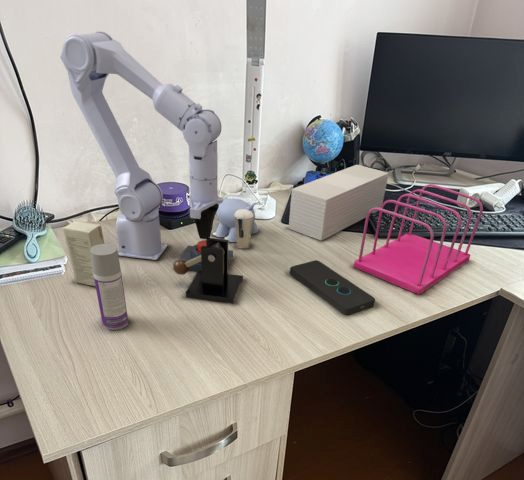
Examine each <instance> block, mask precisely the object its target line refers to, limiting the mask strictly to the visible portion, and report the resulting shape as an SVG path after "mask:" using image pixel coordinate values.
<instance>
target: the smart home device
mask: <svg viewBox="0 0 524 480" xmlns="http://www.w3.org/2000/svg"><path fill="white" fill-rule="evenodd" d="M289 274H290V276H291V277H293V278H294V279H295V280H297V281H298V282H300V283H301V284H302V285H304V286H305V287H306V288H307V289H309V290H310V291H312V292H313V293H315V294H316V295H317V296H318V297H320V298H321V299H322V300H324V301H325V302H327V303H328V304H329V305H331V306H332V307H333V308H335V309H336V310H337V311H339V312H340V313H341V314H343V315H345V316H350V315H352V314H356V313H359V312H361V311H364V310H367V309H370V308H373V307H375V302H376V298H375V297H374V296H372V294H369V293H368V292H367V291H365V290H363V289H362V288H360V287H359V286H357V285H356V284H354V283H353V282H351V281H350V280H349V279H347V278H345V277H344V276H342V275H341V274H339V273H338V272H336V271H335V270H333V269H332V268H330V266H327V265H326V264H324V263H323V262H321V261H320V260H317V259H315V260H311V261H308V262H304V263H303V262H302V263H299V264H296V265H291V266H290V268H289Z"/></svg>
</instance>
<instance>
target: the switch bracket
mask: <svg viewBox="0 0 524 480" xmlns="http://www.w3.org/2000/svg"><path fill="white" fill-rule="evenodd" d="M205 240H206V246H202V247H201V264H202V271H200V270H199V271H196V274H195V276H194V277H193V280H192V281H191V283H190V284H189V286H188V288H187V289H186V291H185V298H186V299H194V300H202V301H208V302H217V303H226V304H235V301H236V299H237V297H238V294H239V292H240V289H241V287H242V284H243V282H244V275H239V274H232V273H229V267H228V250H229V241H228V240H225V239H224V238H214V237H210V238H207V239H205ZM218 242H219V243H220V245H221V246H222V248H217V247H209V246H212V245H214V244H216V243H218ZM224 251H225V253H224Z"/></svg>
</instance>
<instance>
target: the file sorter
mask: <svg viewBox="0 0 524 480" xmlns="http://www.w3.org/2000/svg"><path fill="white" fill-rule="evenodd" d="M429 187H431V188H435V189H439V190H442V191H444V192H448V193H451V194H453V195H456V196H457V195H458V196H460V197H462V198H466V199H469V200H472V201H475V202H476V204H478V206H479V213H478V216H477V219H476V221H475V223H474V224H475V225H474V227H473V228H472V229H473V230H472V233H471V235H470V238H469V241H468V244H467V246H466V249H465V251H462V247H463V245H464V241H465V238H466V236H467V232H468V230H469V226H470V224H471V222H472V221H471V220H472V215H473V214H472V213H473V212H472V210H471V207H470V206H469V205H467V204H466V203H463V202H461V201H459V200H455V199H452V198H449V197H447V196H443V195H440V194H437V193H434V192H432V191H431V192H430V191H428V190H426V189H427V188H429ZM416 193H419V195H415V194H416ZM423 194H426V195H428V196H431V197H435V198H438V199H441V200H443V201H447V202H450V203H452V204H456V205H459V206H461V207H463V208H464V209H465V210H467V213H468V218H467V220H466V221H467V222H466V225H465V228H464V230H463V233H462V235H461V239H460V242H459V244H458V248H457V249H456V248H454V246H455V244H456V241H457V238H458V235H459V233H460V229H461V226H462V217H461V215H460V213H459V212H457V210H455V209H453V208H450V207H448V206H445V205H443V204H440V203H437V202H435V201H432V200H429V199H427V198H423V197H422V196H423ZM405 197H407V200H406V203H405V202H401V200H402V199H403V198H405ZM411 198H412V199H415V200H417V202H416V205H415V206H414V205H411V204H410V202H411ZM421 202H424V203H426V204H429V205H432V206H435V207H436V208H439V209H442V210H445V211H447V212H450V213H452V214H454V215H455V216H456V218H457V226H456V229H455V232H454V235H453V238H452V240H451V244H450V246H448V245H445V244H444V241H445V237H446V233H447V230H448V229H447V228H448V225H447V221H446V219H445V218H444V217H443V216H442V215H441V214H439V213H436V212H434V211H431V210H428V209H424V208H421V207H419V206H420V204H421ZM388 203H389V204H390V203H391V204H392V203H393V204H395V207H394V211H390V210H388V209H384V208H385V206H386V205H387V204H388ZM399 206H402V207H405V208H404V211H403V214H400V213H398V209H399ZM408 209H410V210H411V209H412V210H413V211H414V213H413V216H412V217H410V216H407V213H408ZM375 210H377V212H379V213H378V219H377V224H376V230H375V236H374V242H373V246H372V251H371V252H369V253H367V254H365V255H363V254H364V253H363V252H364V248H365V242H366V236H367V231H368V224H369V220H370V216H371V215H370V214H371V213H372V212H373V211H375ZM418 212H420V213H423V214H427V215H430V216H432V217H436V218H438V219H439V220H441V221H442V224H443V228H442V229H443V230H442V234H441V238H440V241H439V242H437V241H434V238H435V235H434V230H433V228H432V226H430V225H429V224H428V223H426V222H423V221H421V220H419V219H416V218H417V215H418ZM483 212H484V207H483V203H482V201H481V200H480V199H479V198H477V197H474V196H471V195H468V194H465V193H463V192H459V191H457V190H454V189H451V188H447V187H443V186H440V185H437V184H434V183H428V184H425V185H424V186H423V187H422V188H419V189H418V188H417V189H414V190H412V191H411V192H410V193H404V194H402V195H400V196H399V197H398V199H397V200H395V199H387V200H385V201H383V204H382V206H381V208H373V209H371V210H370V211H369V212H368V214H367V216H366V218H365V221H364V225H363V226H364V227H363V231H362V232H363V233H362V238H361V244H360V250H359V255H358V258H357V259H355V260H354V262H353V266H352V267H353V268H355V269H357V270H359V271H362V272H365V273H367V274H369V275H371V276H374V277H376V278H379V279H381V280H384V281H385V282H388V283H390V284H393V285H396V286H397V287H399V288H400V287H401V288H402V289H405V290H407V291H409V292H412V293H414V294H416V295H421V294H422V293H424V292H425V291H426V290H428V289H429V288H431V287H432V286H434V285H435V284H437V283H438V282H440V281H441V280H443V279H444V278H445V277H447V276H448V275H450V274H451V273H453V272H454V271H456V270H457V269H458V268H460V267H461V266H463V265H464V264H466V263H467V262H469V261H470V258H471V254H470V253H469V251H470V249H471V245H472V243H473V240H474V237H475V234H476V231H477V229H478V226H479V223H480V221H481V218H482V215H483ZM383 213H385V214H388V215H391V216H392V218H391V221H390V224H389V225H390V226H389V230H388V233H387V237H386V242H385V244H384V245H383V246H380V247H378V248H377V244H378V237H379V232H380V227H381V222H382V216H383ZM396 218H400V219H401V222H400V227H399V228H400V229H399V231H398V236H397V238H396V239H394V240H392V241H390V239H391V235H392V231H393V228H394V224H395V221H396ZM405 220H406V221H408V222H410V223H411V224H410V227H409V231H408V233H409V234H407V233H404V234H403V235H402V233H403V230H404V225H405V222H406V221H405ZM415 224H418V225H421V226H423V227H425V228H426V229H427V230H428V231H429V234H430V239H428V238H425V237H422V236H419V235H416V234H413V233H412V232H413V230H414V229H413V228H414V225H415Z"/></svg>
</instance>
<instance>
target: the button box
mask: <svg viewBox="0 0 524 480" xmlns="http://www.w3.org/2000/svg"><path fill="white" fill-rule="evenodd" d="M199 255H201V253H200V252H198V250H197V243H196V244H194V245H187V246H186V248H185V249H184V251H182V253H181V254H180V256H179V258H178V259H177V260H179V259H183V260H185V261H188V260H190V259H193V258H195V257H197V256H199ZM233 258H234V250H229V249H228V268H229V267H230V265H231V263H232V260H233ZM199 270H200V271H202V264H201V262H199V263H197V264H194V265H192V266H190V267H189V269H188V271H189V272H198V271H199Z"/></svg>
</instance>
